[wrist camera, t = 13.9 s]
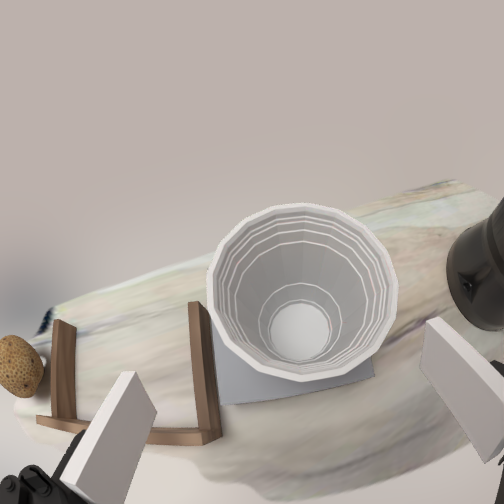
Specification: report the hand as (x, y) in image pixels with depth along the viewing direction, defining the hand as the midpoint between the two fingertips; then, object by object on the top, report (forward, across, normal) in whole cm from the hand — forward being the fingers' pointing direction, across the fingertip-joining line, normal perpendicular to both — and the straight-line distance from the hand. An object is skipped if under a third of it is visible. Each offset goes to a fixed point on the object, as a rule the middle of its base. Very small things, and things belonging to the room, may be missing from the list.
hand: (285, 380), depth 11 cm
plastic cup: (+13, +2, -6) cm, 15 cm away
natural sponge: (+16, -38, -12) cm, 43 cm away
